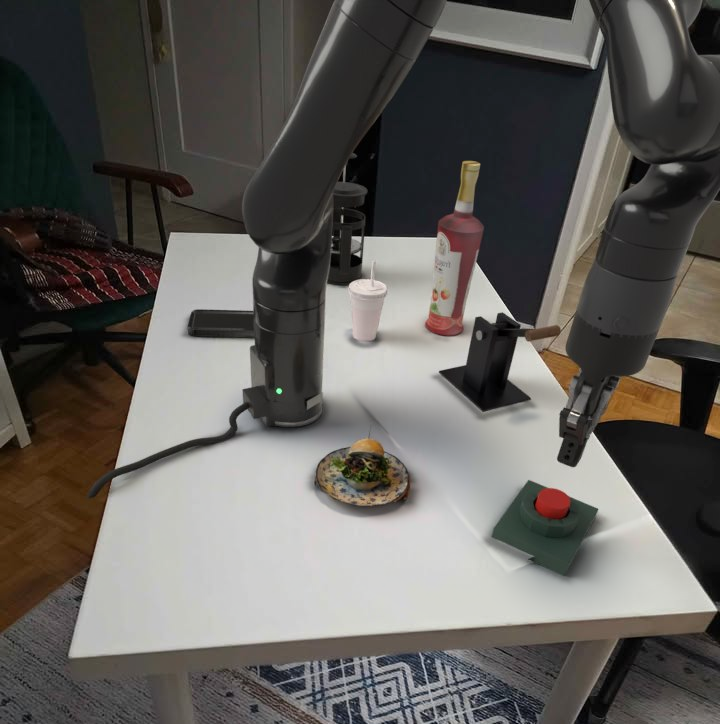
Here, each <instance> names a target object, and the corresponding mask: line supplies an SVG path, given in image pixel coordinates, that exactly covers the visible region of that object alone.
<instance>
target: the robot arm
mask: <svg viewBox="0 0 720 724" xmlns="http://www.w3.org/2000/svg"><path fill="white" fill-rule="evenodd" d="M588 2H589V4H590V7H591V9H592V12H593V15H594V17H595V20H596V23H597V25H598V27H599V29H600V32H601V35H602V37H603V39H604V41H605V45H606V46H605V47H606V61H607V62H606V63H607V64H606V65H607V74H608V81H609V92H610V101H611V110H612V115H613V116H612V117H613V120H614V124H615V127H616V130H617V132H618V133H617V134H618V135H619V137H620V139H621V141H622V143H623V144H624V145H625V147H626V149H627V150H628V151H629V152H630V153H631V154H632V155H633V156H634V157H635V158H636V159H638V160H639V161H641V162H643V163H645V164H649V165H650V166H649V167H648V169H647V172H646V173H645V175H644V177H643V178H642V179H641V180H640V181H638V183H636V184H635V185H633V186H632V187H630V188H628V189H626V190H624V191H623V192H621V193H620V194H619V195H618V196H617V197H616V198H615V200H614V201H613V202H612V205H611V206H610V209H609V212H608V214H607V217H606V221H605V223H604V227H603V230H602V234H601V237H600V240H599V243H598V246H597V249H596V253H595V257H594V260H593V262H592V264H591V267H590V269H589V271H588V274H587V276H586V277H585V280H584V284H583V286H582V290H581V293H580V295H579V300H578V302H577V307H576V309H575V313H574V316H573V320H572V323H571V326H570V330H569V333H568V336H567V339H566V342H565V346H564V347H565V353H566V355H567V357H568V359H569V360H571V362H572V363H575V364H576V365H577V367H578V368H579V370H578V372H577V374H574V375H573V376H572V378H571V380H570V383H569V387H568V393H569V394H568V398H567V401H566V405H565V407H564V406H563V408H562V409H561V410H560V412H559V414H558V415H559V419H558V437H559V438H562V442H561V444H560V448H559V451H558V454H557V456H556V460H557V462H558V463H560V464H563V465H564V466H567V467H570V468H576V467H577V466H578V464H579V462H580V461H581V459H582V457H583V454H584V451H585V448H586V447H587V443H588V441H589V440H590V437H591V434H592V433H594V432H595V429H596V426H597V425H598V424H599V422H600V420H601V418H602V417H603V415H604V414H605V413H606V411H607V409H608V406H609V403H610V401H611V399H612V396H613V394H614V393H615V392H616V391H617V389H618V388H619V384H620V382H621V379H622V378H623V377H630V376H634V375H637V374H638V373H639V372H641V371H642V370H643V369H644V368H645V366H646V364H647V361H648V359H649V357H650V354H651V352H652V349H653V347H654V344H655V341H656V340H657V336H658V334H659V332H660V329H661V326H662V324H663V321H664V319H665V317H666V313H667V311H668V309H669V307H670V304H671V300H672V297H673V294H674V293H673V292H674V288H675V285H676V281H677V277H678V274H679V273H680V270H681V268H682V265H683V262H684V260H685V257H686V255H687V252H688V249H689V247H690V245H691V241H692V239H693V237H694V233H695V230H696V227H697V224H698V223H699V221H700V220H701V219H702V217H703V215H704V214H705V212H706V211H707V210H708V208H709V207H710V206H711V204H712V203H713V202H714V200H715V198H716V197H717V195H718V194H719V192H720V54H698V53H697V51H696V50H695V48H694V45H693V43H692V40H691V37H690V33H689V28H690V26H691V25H692V24H693V22H694V21H695V20H696V18H697V16H698V15H699V14H700V13H699V12H700V11H701V8H702V4H703V0H588ZM446 4H447V0H334V1H333V3H332V6H331V8H330V10H329V12H328V15H327V17H326V20H325V23H324V24H323V27H322V30H321V32H320V34H319V36H318V40H317V42H316V45H315V46H314V49H313V51H312V54H311V57H310V59H309V62H308V64H307V66H306V69H305V72H304V75H303V77H302V81H301V83H300V86H299V88H298V90H297V91H298V92H297V95H296V97H295V99H294V102H293V104H292V107H291V109H290V111H289V113H288V115H287V118H286V119H285V122H284V123H283V125H282V127H281V129H280V131H279V133H278V134H277V136H276V138H275V140H274V141H273V143H272V144H271V147H270V148H269V150H268V152H267V153H266V155H265V157H264V158H263V160H262V162H261V163H260V164H259V166H258V168H257V170H256V171H255V173H254V174H253V175H252V177H251V178H250V180H249V182H248V183H247V185H246V187H245V189H244V192H243V197H242V202H241V214H242V222H243V224H244V227H245V230H246V233H247V234H248V237H249V238H250V239H251V240H252V242H253V243H254V244H255V246H256V247H258V251H257V257H256V258H257V259H256V262H255V266H254V270H253V273H252V277H251V279H252V281H251V283H252V284H251V285H252V286H251V287H252V311H253V312H254V337H253V338H254V345H250V346H249V360H250V363H249V364H250V384H251V386H250V387H247V388H246V387H245V388H242V404H240V405H239V406H237V407H236V408H235V409H233V411H232V412H231V413H230V415H229V417H228V423H229V427H230V428H229V429H227V431H226V432H225V433H223V434H221V435H217V436H209V437H201V438H200V437H199V438H195V439H191V440H190V439H189V440H188V441H185V442H182V443H178V444H176V445H173V446H171V447H169V448H166V449H163V450H161V451H158V452H155V453H154V454H152V455H149V456H146V457H144V458H142V459H140V460H137V461H135V462H132V463H129V464H126V465H122V466H120V467H117V468H114V469H112V470H110V471H108V472H107V473H105V474H103V475H102V476H100V478H99V479H97V480H96V481H95V483H94V484H93V485H92V486H91V488H90V489H89V491H88V493H87V495H86V498H87V499H93V498H95V497H97V496H98V494H99V492H100V491H101V490H102V489H103V488H104V486H106V484H107V483H109V482H111V481H112V480H113V479H115V478H118V477H119V476H123V475H125V474H128V473H131V472H135V471H137V470H140V469H142V468H145V467H147V466H149V465H151V464H154V463H156V462H158V461H160V460H163V459H165V458H167V457H169V456H172V455H175V454H178V453H180V452H183V451H185V450H188V449H191V448H195V447H199V446H206V445H214V444H217V443H221V442H224V441H227V440H230V439H231V438H232V437H233V436H234V435H235V434H236V433H237V431H238V423H237V419H238V417H239V416H240V415H241V414H243V413H244V412H246V411H248V412H249V414H250V416H251V417H252V418H253V420H257V419H261V421H262V422H263V424H265V426H266V427H274V426H276V427H281V428H298V427H303V426H307V425H309V424H312V423H313V422H315V421H316V420H318V419H319V418H320V416H321V415H322V413H323V399H324V398H323V395H324V392H323V378H324V377H323V375H324V373H323V372H324V351H325V348H324V347H325V322H326V321H325V320H326V302H327V301H326V298H327V297H326V296H327V284H328V283H327V279H328V275H329V269H330V261H331V244H332V237H333V229H332V228H333V222H334V215H333V208H334V207H335V206H334V204H333V191H334V189H335V186H336V184H337V182H339V179H340V177H341V175H342V173H343V172H344V167H345V165H346V163H347V161H349V160H350V159H349V158H350V156H351V154H352V153H354V152H355V149H356V148H357V146H359V144H360V142H361V141H362V140H363V138H364V137H365V135H366V134H367V133H368V132H369V130H370V129H371V128H372V126H374V124H375V122H376V121H377V120H378V118H379V117H380V116H381V114H382V113H383V112H384V110H385V109H386V108H387V106H388V104H389V103H390V101H391V100H392V99H393V97H394V96H395V94H396V93H397V91H398V90H399V88H400V87H401V85H402V84H403V82H404V81H405V79H406V78H407V76H408V75H409V73H410V72H411V70H412V68H413V66H414V65H415V63H416V60H417V59H418V57H419V56H420V54H421V52H422V50H423V49H424V47H425V45H426V44H427V41H428V40H429V38H430V36H431V34H432V33H433V32H434V28H435V27H436V25H437V23H438V22H439V20H440V17H441V16H442V14H443V11H444V9H445V6H446ZM347 164H348V163H347ZM346 166H347V165H346Z"/></svg>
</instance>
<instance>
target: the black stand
mask: <svg viewBox="0 0 720 724" xmlns="http://www.w3.org/2000/svg"><path fill="white" fill-rule="evenodd" d="M495 323H507V328H511V329H521V326H522V324H520V323H519V322H517V321H516V320H514V319H513V318H512V317H510V316H509V315H507V314H506V313H505V312H498V313H497V314H496V319H495ZM498 330H499V329H498V328H496V327H495V326H493V325H492V323H491V322H489V321H488V320H487V319H486V318H484V317H483V316H481V315H479V316H475V317H474V322H473V327H472V332H471V337H470V342H469V348H468V353H467V357H466V363H465V365H459V366H455V367H450V368H445V369H441V370H438V373H439V374H440V375H441V376H442V377H443V378H444V379H445V380H446V381H447V382H448V383H450V384H451V385H452V386H453V387H454V388H455V389H456V390H457V391H458V392H460V393H461V394H462V395H463V396H464V397H466V399H468V401H470V402H471V403H472V404H473V405H474V406H475V407H476V408H478V409H479V410H480V411H481V412H482V413H483V412H488V411H492V410H495V409H500V408H504V407H508V406H511V405H516V404H520V403H523V402H528V401H531V400H532V398H531V396H529V394H527V393H526V392H524V391H523V390H522V389H521V388H519V387H518V386H516V384H514V383H513V382H511V380H509V379H508V378H509V374H510V371H511V368H512V367H511V366H512V362H513V358H514V354H515V351H516V346H517V342H518V339H519V337H508V340H503V341H498V342H496V339H497V335H498Z"/></svg>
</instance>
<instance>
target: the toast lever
mask: <svg viewBox="0 0 720 724" xmlns="http://www.w3.org/2000/svg"><path fill="white" fill-rule="evenodd" d="M491 324H492V325H493V326H495V327H496V328H498V329H499V330H498V335H497V339H496V342H498V341H503V340H508V337H518V338H524V339H525V341H526V342H529V343H530V342H534V341H539V340H545V339H548V338H549V339H550V338H554V337H558V336H560V334H561V332H562V330H561V327H560V325H558V324H555V325H550V326H545V327H539V328H520V329H511V328H507V323H496V322H492V323H491Z"/></svg>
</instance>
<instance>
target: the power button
mask: <svg viewBox="0 0 720 724" xmlns="http://www.w3.org/2000/svg"><path fill="white" fill-rule="evenodd" d="M569 497H570V495H568V494H567V493H566V492H564V491H563V490H561V489H558V488H553V487H547V488H546V489H543V490H541V491H540V492H539V495H538V498H537V501H536V504H535V508H536V511H537V512H538V513H539V514H540V515H542V516H544V517H547V518H549V519H557V520H560V519H562V518H564V517H565V516H566V514H567V511H568V508H569V506H570V498H569Z"/></svg>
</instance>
